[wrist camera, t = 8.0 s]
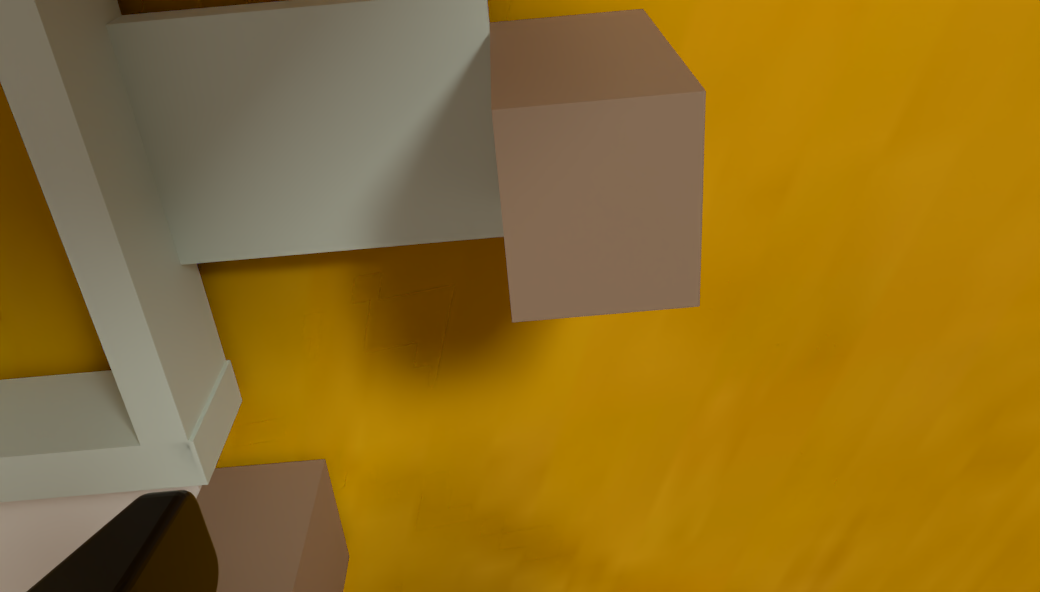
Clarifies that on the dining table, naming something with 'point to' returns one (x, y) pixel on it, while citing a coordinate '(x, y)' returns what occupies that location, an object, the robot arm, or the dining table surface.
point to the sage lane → (323, 186)
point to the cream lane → (229, 519)
